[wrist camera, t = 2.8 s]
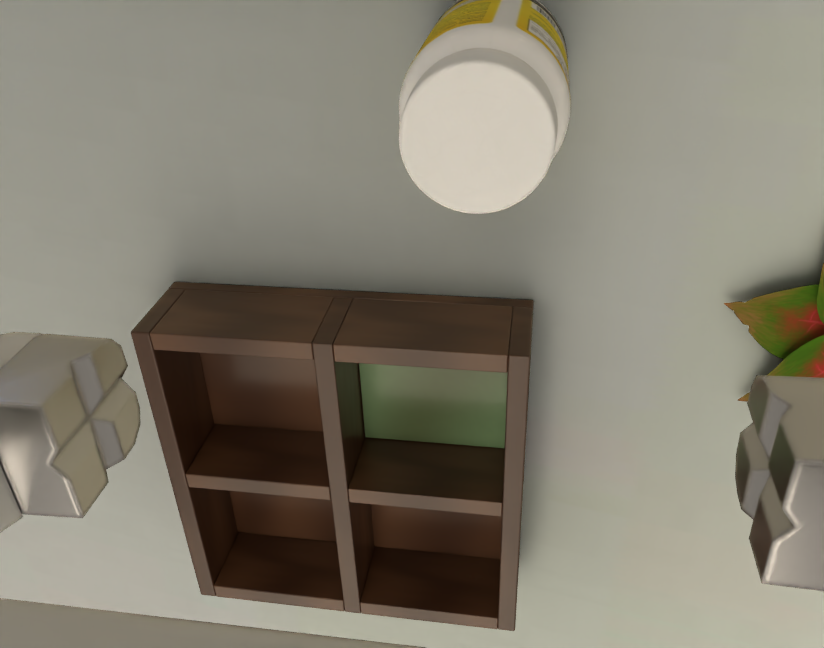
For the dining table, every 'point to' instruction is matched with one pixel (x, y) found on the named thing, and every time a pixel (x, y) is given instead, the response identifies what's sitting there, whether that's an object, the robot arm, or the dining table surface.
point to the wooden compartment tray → (345, 445)
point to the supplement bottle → (485, 104)
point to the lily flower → (788, 328)
